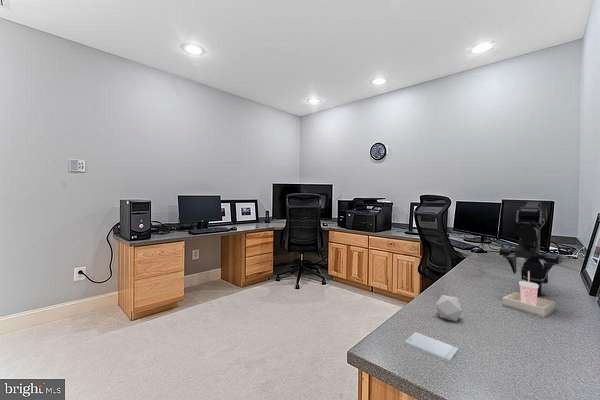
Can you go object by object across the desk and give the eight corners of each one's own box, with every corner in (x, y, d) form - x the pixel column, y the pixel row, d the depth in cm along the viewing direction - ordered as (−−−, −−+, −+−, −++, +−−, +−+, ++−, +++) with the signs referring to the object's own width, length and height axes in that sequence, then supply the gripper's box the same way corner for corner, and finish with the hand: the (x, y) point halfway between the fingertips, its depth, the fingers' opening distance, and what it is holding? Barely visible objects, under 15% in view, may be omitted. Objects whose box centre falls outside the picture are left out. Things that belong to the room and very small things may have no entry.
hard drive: (404, 341, 79) (450, 359, 70) (415, 331, 84) (459, 347, 75) (404, 346, 79) (450, 365, 70) (415, 336, 84) (459, 353, 75)
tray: (515, 299, 115) (515, 291, 115) (555, 310, 104) (555, 301, 104) (502, 306, 108) (502, 297, 108) (543, 318, 97) (544, 308, 97)
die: (464, 319, 97) (450, 293, 102) (470, 316, 90) (455, 289, 95) (443, 326, 98) (429, 300, 103) (447, 323, 91) (432, 296, 96)
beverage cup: (514, 302, 109) (515, 269, 109) (529, 302, 109) (530, 269, 109) (526, 308, 103) (527, 273, 103) (542, 308, 103) (543, 273, 103)
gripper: (493, 236, 110) (493, 273, 110) (553, 242, 94) (553, 286, 94) (504, 234, 115) (504, 270, 115) (563, 240, 100) (562, 281, 100)
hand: (528, 276), depth 106 cm, fingers open, 9 cm apart
